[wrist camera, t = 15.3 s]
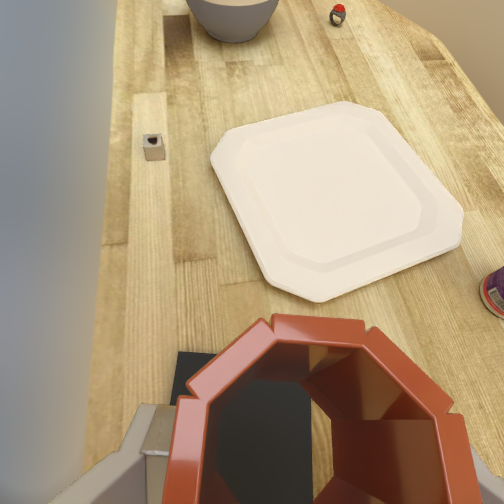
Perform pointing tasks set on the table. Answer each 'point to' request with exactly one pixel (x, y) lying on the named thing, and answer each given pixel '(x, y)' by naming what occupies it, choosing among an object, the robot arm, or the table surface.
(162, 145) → the cube with dark pebbles
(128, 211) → the table surface
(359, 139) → the plate
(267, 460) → the mat
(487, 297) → the pill bottle
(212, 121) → the table surface
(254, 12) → the bowl
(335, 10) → the ring
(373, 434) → the orange hollow octagonal tube
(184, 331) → the table surface
